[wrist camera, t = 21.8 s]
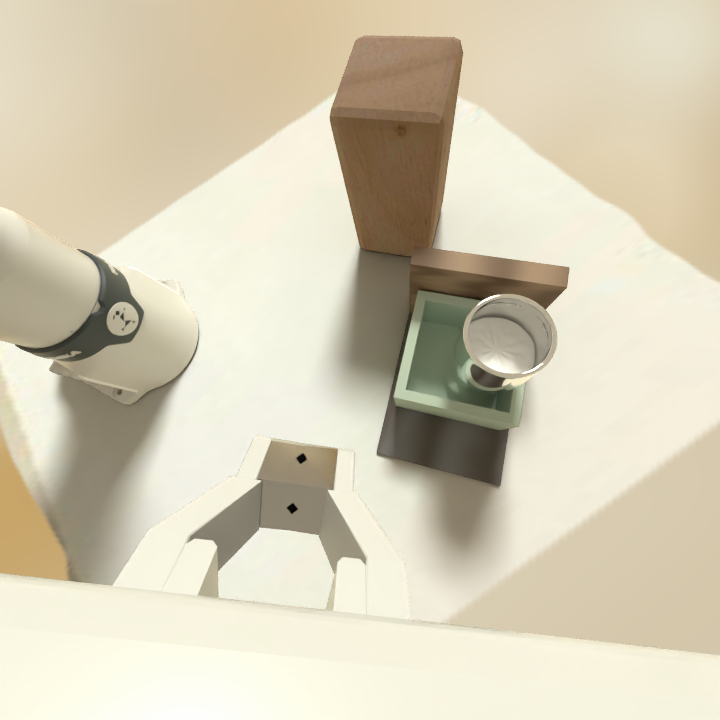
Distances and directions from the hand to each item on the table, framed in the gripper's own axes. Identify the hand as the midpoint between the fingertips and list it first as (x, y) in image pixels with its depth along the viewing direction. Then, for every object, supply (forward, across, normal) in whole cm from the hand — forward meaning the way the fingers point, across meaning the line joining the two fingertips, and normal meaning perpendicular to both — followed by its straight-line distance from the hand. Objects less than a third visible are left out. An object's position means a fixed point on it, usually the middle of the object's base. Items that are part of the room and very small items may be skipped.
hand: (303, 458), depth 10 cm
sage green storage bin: (+28, -15, +10) cm, 33 cm away
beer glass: (+26, -16, +9) cm, 32 cm away
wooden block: (+43, -6, -4) cm, 44 cm away
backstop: (+27, -15, +11) cm, 33 cm away
